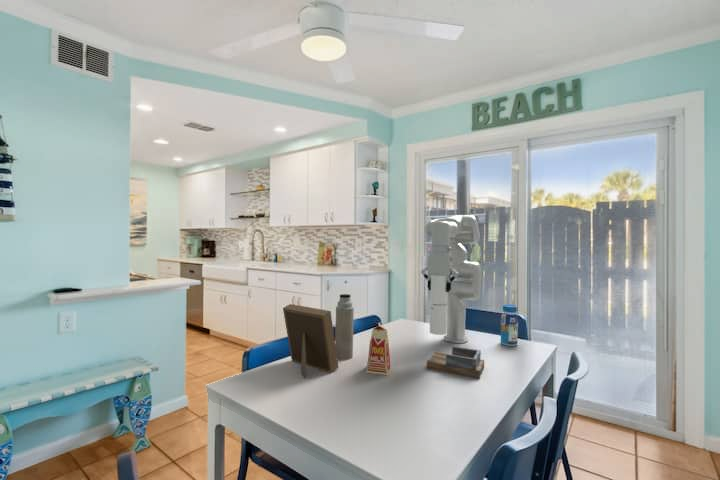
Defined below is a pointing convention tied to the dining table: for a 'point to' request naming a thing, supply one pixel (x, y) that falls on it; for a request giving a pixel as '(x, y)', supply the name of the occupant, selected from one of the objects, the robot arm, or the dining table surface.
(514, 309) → the beverage bottle
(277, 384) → the dining table surface
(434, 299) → the cylindrical container
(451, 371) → the dock
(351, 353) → the thermos bottle
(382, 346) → the milk carton
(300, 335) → the photo frame
